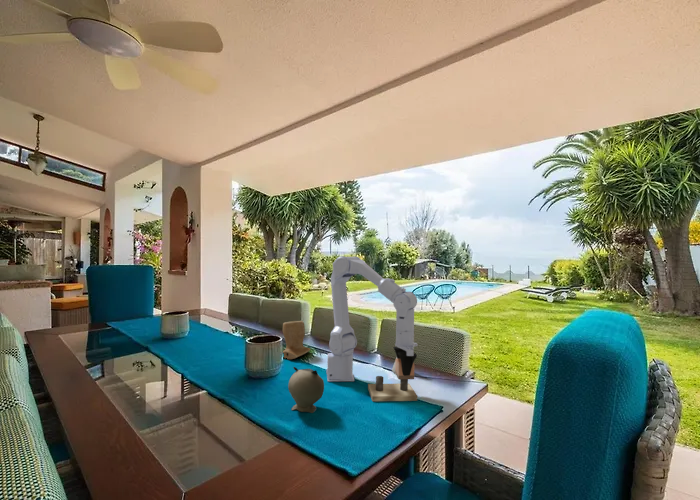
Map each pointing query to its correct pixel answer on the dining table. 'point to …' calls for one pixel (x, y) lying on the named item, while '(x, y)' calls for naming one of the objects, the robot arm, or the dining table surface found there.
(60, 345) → the dining table surface
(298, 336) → the tan wooden stand
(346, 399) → the dining table surface
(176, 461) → the dining table surface
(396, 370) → the sleeve
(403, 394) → the pin board
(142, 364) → the dining table surface
